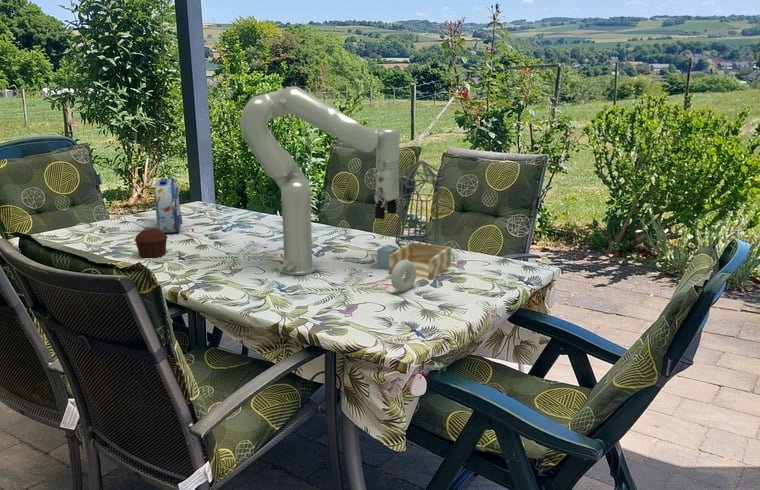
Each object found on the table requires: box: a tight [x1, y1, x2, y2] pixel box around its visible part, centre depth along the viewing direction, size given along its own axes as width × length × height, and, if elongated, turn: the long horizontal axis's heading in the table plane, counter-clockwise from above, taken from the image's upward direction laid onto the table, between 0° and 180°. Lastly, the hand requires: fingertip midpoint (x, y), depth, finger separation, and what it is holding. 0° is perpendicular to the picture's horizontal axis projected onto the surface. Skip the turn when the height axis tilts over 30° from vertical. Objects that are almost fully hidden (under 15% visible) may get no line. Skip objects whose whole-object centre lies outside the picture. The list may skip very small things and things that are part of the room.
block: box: [376, 245, 398, 268], centre depth 231 cm, size 5×5×6 cm
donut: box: [390, 260, 417, 292], centre depth 206 cm, size 10×3×10 cm, turn 135°
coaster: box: [369, 262, 389, 271], centre depth 231 cm, size 9×9×1 cm
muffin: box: [134, 227, 169, 259], centre depth 244 cm, size 12×11×10 cm
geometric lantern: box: [394, 160, 448, 249], centre depth 243 cm, size 16×16×35 cm
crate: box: [388, 241, 452, 281], centre depth 227 cm, size 19×15×7 cm
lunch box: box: [154, 178, 183, 234], centre depth 282 cm, size 28×10×22 cm, turn 17°
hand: (385, 215), depth 227 cm, fingers open, 9 cm apart
